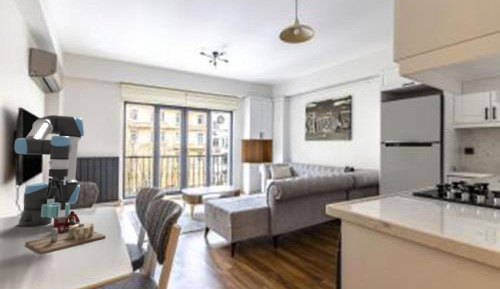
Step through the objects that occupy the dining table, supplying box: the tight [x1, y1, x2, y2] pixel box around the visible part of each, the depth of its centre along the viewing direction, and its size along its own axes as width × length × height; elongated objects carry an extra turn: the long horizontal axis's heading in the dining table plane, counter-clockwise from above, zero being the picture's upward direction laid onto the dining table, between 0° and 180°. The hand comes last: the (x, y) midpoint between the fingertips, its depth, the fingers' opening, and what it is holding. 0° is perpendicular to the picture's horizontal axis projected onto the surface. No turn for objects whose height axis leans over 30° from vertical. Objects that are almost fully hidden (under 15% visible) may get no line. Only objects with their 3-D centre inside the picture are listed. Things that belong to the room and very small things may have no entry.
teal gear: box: [41, 203, 71, 219], centre depth 128 cm, size 11×11×5 cm
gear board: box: [25, 222, 106, 255], centre depth 133 cm, size 17×28×7 cm, turn 147°
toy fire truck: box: [52, 210, 81, 234], centre depth 148 cm, size 7×12×10 cm, turn 135°
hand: (55, 214), depth 127 cm, fingers closed on teal gear, 11 cm apart
